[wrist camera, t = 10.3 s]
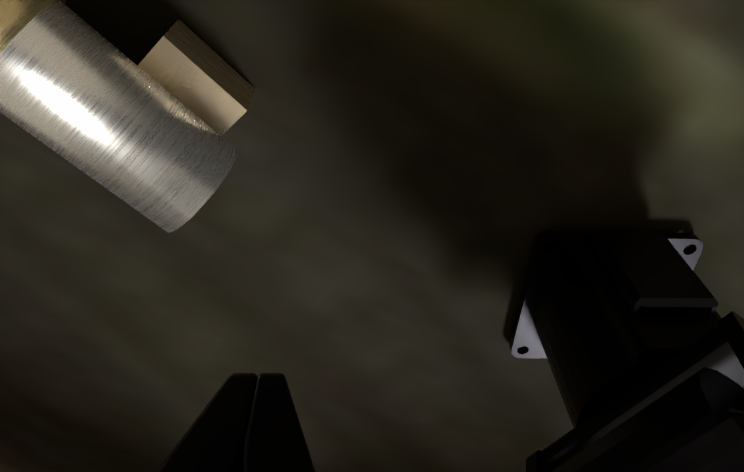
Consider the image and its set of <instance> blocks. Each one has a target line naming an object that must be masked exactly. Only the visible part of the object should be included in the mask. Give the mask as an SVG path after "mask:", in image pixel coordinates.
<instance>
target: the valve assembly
mask: <svg viewBox="0 0 744 472" xmlns="http://www.w3.org/2000/svg"><path fill="white" fill-rule="evenodd" d="M65 2H66V0H0V113H2V114H3V115H5V116H6V117H7V118H9V119H10V120H12V121H13V122H14V123H16V124H17V125H19V126H20V127H21V128H23V129H24V130H26V131H27V132H28V133H30V134H31V135H33V136H34V137H35V138H37V139H38V140H40V141H41V142H42V143H44V144H45V145H46V146H48V147H49V148H51V149H52V150H53V151H55V152H56V153H58V154H59V155H60V156H62V157H63V158H65V159H66V160H67V161H69V162H70V163H72V164H73V165H74V166H76V167H77V168H79V169H80V170H81V171H83V172H84V173H86V174H87V175H88V176H90V177H91V178H93V179H94V180H95V181H97V182H98V183H100V184H101V185H102V186H104V187H105V188H107V189H108V190H109V191H111V192H112V193H114V194H115V195H116V196H118V197H119V198H121V199H122V200H123V201H125V202H126V203H128V204H129V205H130V206H132V207H133V208H135V209H136V210H137V211H139V212H140V213H141V214H143V215H144V216H146V217H147V218H148V219H150V220H151V221H153V222H154V223H155V224H157V225H158V226H160V227H161V228H162V229H164V230H165V231H167V232H168V233H170V232H173V231H175V230H177V229H178V228H180V227H181V226H182V225H184V224H185V223H186V222H187V221H188V220H189V219H190V218H191V217H193V216H194V215H195V214H196V213H197V212H198V210H199V209H200V208H201V207H202V206H203V205H204V204H205V203H206V202H207V200H208V199H209V198H210V197H211V196H212V195H213V193H214V192H215V191H216V189H217V188H218V187H219V186H220V184H221V183H222V181H223V180H224V179H225V177H226V176H227V174H228V172H229V171H230V169H231V167H232V166H233V164H234V162H235V159H236V157H237V152H238V151H237V149H235V148H234V147H233V146H232V145H231V144H230V143H228V142H227V141H226V140H225V139H224V138H222V137H221V136H222V135H223V134H224V133H225V132H226V131H227V130H228V129H229V128H230V127H231V126H232V125H233V124H234V123H235V122H236V121H237V120H238V119H239V118H240V117H241V116H242V115H243V114H244V113H245V112H246V111H247V110H248V107H249V104H250V102H251V99H252V96H253V93H254V90H255V88H253V87H252V86H251V85H250V84H249V83H248V82H247V81H246V80H245V79H244V78H243V77H242V76H240V75H239V74H238V73H237V72H236V71H235V70H234V69H233V68H232V67H231V66H230V65H228V64H227V63H226V62H225V61H224V60H223V59H222V58H221V57H220V56H219V55H218V54H217V53H215V52H214V51H213V50H212V49H211V48H210V47H209V46H208V45H207V44H206V43H205V42H203V41H202V40H201V39H200V38H199V37H198V36H197V35H196V34H195V33H194V32H193V31H192V30H190V29H189V28H188V27H187V26H186V25H185V24H184V23H183V22H182V21H181V20H180V19H178V20H177V21H176V22H175V24H174V25H173V26H172V27H171V28H170V29H169V30H168V31H167V32H166V34H165V35H164V36H163V37H162V38H161V39H160V40H159V42H158V43H157V44H156V45H155V46H154V47H153V48H152V50H151V51H150V52H149V53H148V54H147V55H146V56H145V58H144V59H143V60H142V61H141V62H140V63H139V64H138V66H137V65H136V64H135V63H134V62H132V61H131V60H130V59H129V58H128V57H127V56H125V55H124V54H123V53H122V52H121V51H119V50H118V49H117V48H116V47H115V46H114V45H112V44H111V43H110V42H109V41H108V40H106V39H105V38H104V37H103V36H102V35H100V34H99V33H98V32H97V31H96V30H95V29H93V28H92V27H91V26H90V25H89V24H87V23H86V22H85V21H84V20H83V19H82V18H80V17H79V16H78V15H77V14H76V13H74V12H73V11H72V10H71V9H70V8H69V7H67V6H66V5H65Z"/></svg>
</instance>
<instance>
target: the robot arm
mask: <svg viewBox="0 0 744 472" xmlns="http://www.w3.org/2000/svg"><path fill="white" fill-rule="evenodd" d="M550 242H553V244H552V245H551V246H549V247H544V246H545V245H546V244H547V243H550ZM688 245H690V246H689V247H688V248H685V247H686V246H688ZM684 248H685V249H684ZM702 250H703V243H702V242H701V240H700V239H699V238H698V237H697V236H696V235H695V234H691V233H663V232H661V231H617V230H600V231H597V232H582V231H547V232H544V233H541V234H540V235H539V236H538V237H537V238H536V240H535V242H534V246H533V251H532V255H531V259H530V263H529V267H528V271H527V275H526V279H525V283H524V287H523V291H522V295H521V299H520V303H519V307H518V311H517V315H516V319H515V323H514V327H513V331H512V335H511V339H510V343H509V346H510V350H511V353H512V355H513V356H515V357H516V358H547V359H548V362H549V364H550V367H551V370H552V372H553V375H554V378H555V380H556V383H557V385H558V388H559V391H560V393H561V396H562V398H563V401H564V404H565V406H566V409H567V411H568V414H569V417H570V419H571V422H572V424H573V427H574V428H573V429H572V430H571V431H569V432H568V433H566V434H565V435H564V436H562V437H561V438H559V439H558V440H556V441H555V442H554V443H552V444H551V445H549V446H548V447H547V448H545V449H544V450H542V451H539V450H538V451H536V452H535V453H533V454H532V455H531V456H529V457H528V458H527V459H526V472H744V319H743V318H742V317H740V316H739V315H738V314H736V313H735V312H733V311H732V312H730V313H729V314H728V315H726V316H725V317H723V318H721V317H720V316H719V314H718V313H717V312H716V308H717V306H718V302H717V301H716V299H715V298H714V297H713V295H712V294H711V293H710V292H709V290H708V289H707V288H706V286H705V285H704V284H703V283H702V281H701V280H700V279H699V278H698V276H697V275H696V274H695V273H694V271H693V270H694V268H695V265H696V263H697V261H698V259H699V257H700V254H701V252H702ZM521 346H524V347H521ZM519 347H521V348H519ZM157 472H315V469H314V466H313V463H312V460H311V457H310V454H309V450H308V447H307V444H306V441H305V438H304V435H303V432H302V428H301V425H300V422H299V419H298V416H297V413H296V410H295V407H294V403H293V400H292V397H291V394H290V391H289V388H288V385H287V381H286V378H285V376H284V375H283V374H282V373H261V374H259V376H257V375H256V374H254V373H233V374H231V375H230V376H229V377H228V378H227V379H226V381H225V382H224V383H223V385H222V386H221V387H220V389H219V390H218V391H217V393H216V394H215V395H214V397H213V398H212V399H211V401H210V402H209V403H208V405H207V406H206V407H205V409H204V410H203V411H202V413H201V414H200V415H199V417H198V418H197V419H196V421H195V422H194V423H193V425H192V426H191V427H190V429H189V430H188V431H187V432H186V434H185V435H184V436H183V438H182V439H181V440H180V442H179V443H178V444H177V446H176V447H175V448H174V450H173V451H172V452H171V454H170V455H169V456H168V458H167V459H166V460H165V462H164V463H163V464H162V466H161V467H160V468H159V470H158V471H157Z"/></svg>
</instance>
